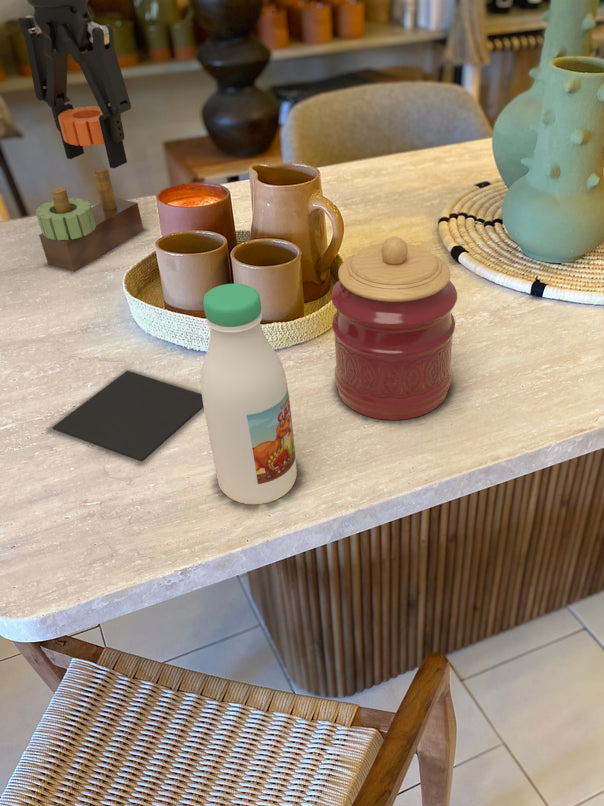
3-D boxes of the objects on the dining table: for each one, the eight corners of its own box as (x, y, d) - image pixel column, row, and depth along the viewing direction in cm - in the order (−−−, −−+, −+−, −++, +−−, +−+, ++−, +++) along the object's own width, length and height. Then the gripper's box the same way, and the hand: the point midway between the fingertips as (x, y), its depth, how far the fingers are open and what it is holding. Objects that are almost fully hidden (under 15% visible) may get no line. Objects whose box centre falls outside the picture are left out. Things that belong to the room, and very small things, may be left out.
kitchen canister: (449, 358, 91) (460, 212, 79) (450, 425, 82) (462, 270, 70) (341, 355, 92) (335, 209, 80) (329, 421, 82) (320, 267, 70)
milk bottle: (231, 516, 72) (195, 327, 58) (209, 467, 77) (172, 283, 63) (308, 493, 74) (292, 306, 60) (282, 447, 79) (261, 265, 65)
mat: (53, 430, 82) (52, 427, 81) (127, 373, 89) (127, 370, 89) (142, 462, 78) (141, 459, 77) (212, 400, 85) (211, 397, 85)
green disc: (31, 234, 107) (24, 213, 105) (68, 215, 111) (62, 194, 109) (70, 244, 104) (64, 222, 102) (106, 224, 109) (101, 203, 107)
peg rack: (74, 272, 108) (54, 201, 101) (48, 265, 110) (26, 195, 103) (144, 231, 118) (129, 164, 111) (118, 225, 119) (102, 159, 112)
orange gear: (53, 140, 105) (46, 117, 103) (89, 125, 110) (84, 103, 108) (93, 149, 103) (87, 125, 101) (128, 133, 108) (124, 110, 106)
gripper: (135, -33, 92) (170, 163, 108) (13, -46, 99) (62, 141, 114) (92, -23, 87) (135, 181, 103) (-34, -37, 94) (24, 157, 109)
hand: (96, 160), depth 109 cm, fingers closed on orange gear, 7 cm apart
